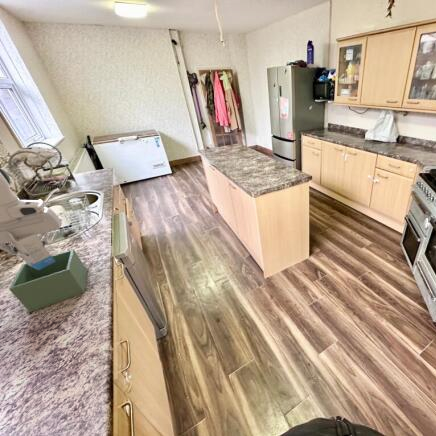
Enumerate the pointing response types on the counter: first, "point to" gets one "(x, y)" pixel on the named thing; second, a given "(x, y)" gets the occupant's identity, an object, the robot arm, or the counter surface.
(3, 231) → the robot arm
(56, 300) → the waste bin
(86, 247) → the counter surface
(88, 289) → the counter surface
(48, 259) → the ink box
